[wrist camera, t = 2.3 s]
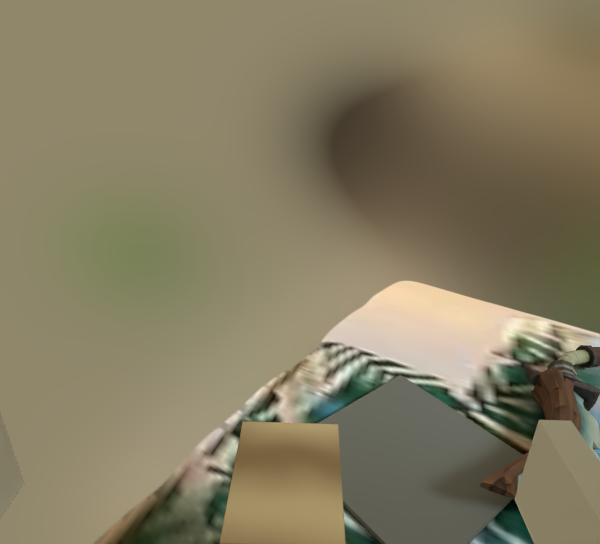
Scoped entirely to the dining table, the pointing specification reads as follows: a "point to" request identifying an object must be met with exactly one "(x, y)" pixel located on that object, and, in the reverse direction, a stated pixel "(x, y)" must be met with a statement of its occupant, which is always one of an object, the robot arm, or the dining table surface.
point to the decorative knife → (557, 410)
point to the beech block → (286, 486)
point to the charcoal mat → (417, 467)
